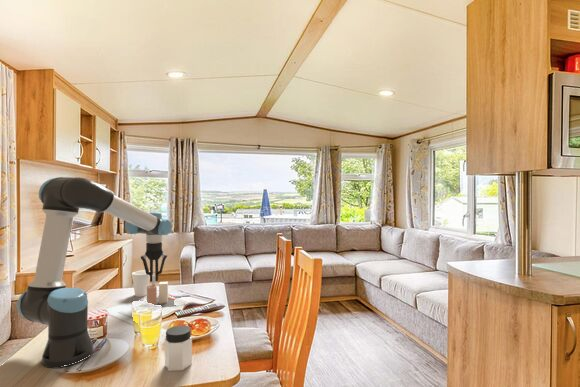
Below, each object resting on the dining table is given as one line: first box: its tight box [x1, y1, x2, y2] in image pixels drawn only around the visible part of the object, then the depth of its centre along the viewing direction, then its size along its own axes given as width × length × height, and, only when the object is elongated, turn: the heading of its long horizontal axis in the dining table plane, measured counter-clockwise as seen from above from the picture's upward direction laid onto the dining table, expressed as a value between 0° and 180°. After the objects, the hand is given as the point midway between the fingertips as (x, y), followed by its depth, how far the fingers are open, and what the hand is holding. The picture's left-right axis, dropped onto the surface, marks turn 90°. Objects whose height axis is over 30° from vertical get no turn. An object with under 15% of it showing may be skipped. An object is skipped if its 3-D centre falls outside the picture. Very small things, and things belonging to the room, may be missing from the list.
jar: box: [164, 324, 193, 372], centre depth 114 cm, size 9×8×12 cm
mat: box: [157, 294, 191, 308], centre depth 175 cm, size 16×22×1 cm
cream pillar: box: [158, 281, 169, 303], centre depth 174 cm, size 4×4×10 cm
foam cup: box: [131, 269, 150, 298], centre depth 185 cm, size 10×9×13 cm
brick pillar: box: [146, 285, 158, 305], centre depth 167 cm, size 4×4×10 cm
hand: (154, 287), depth 173 cm, fingers closed
